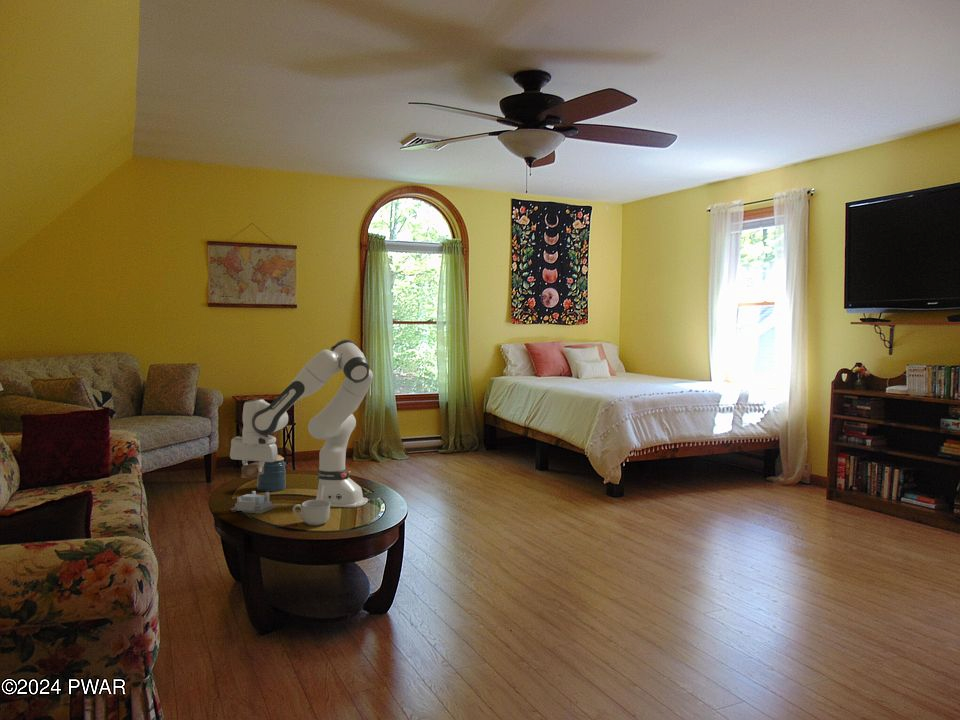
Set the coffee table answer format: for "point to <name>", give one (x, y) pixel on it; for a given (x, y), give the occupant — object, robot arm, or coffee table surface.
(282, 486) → the canister
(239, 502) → the jig
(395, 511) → the coffee table surface
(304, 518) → the teacup
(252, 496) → the pale grey upright block
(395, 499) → the coffee table surface
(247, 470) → the tan cardboard carton
